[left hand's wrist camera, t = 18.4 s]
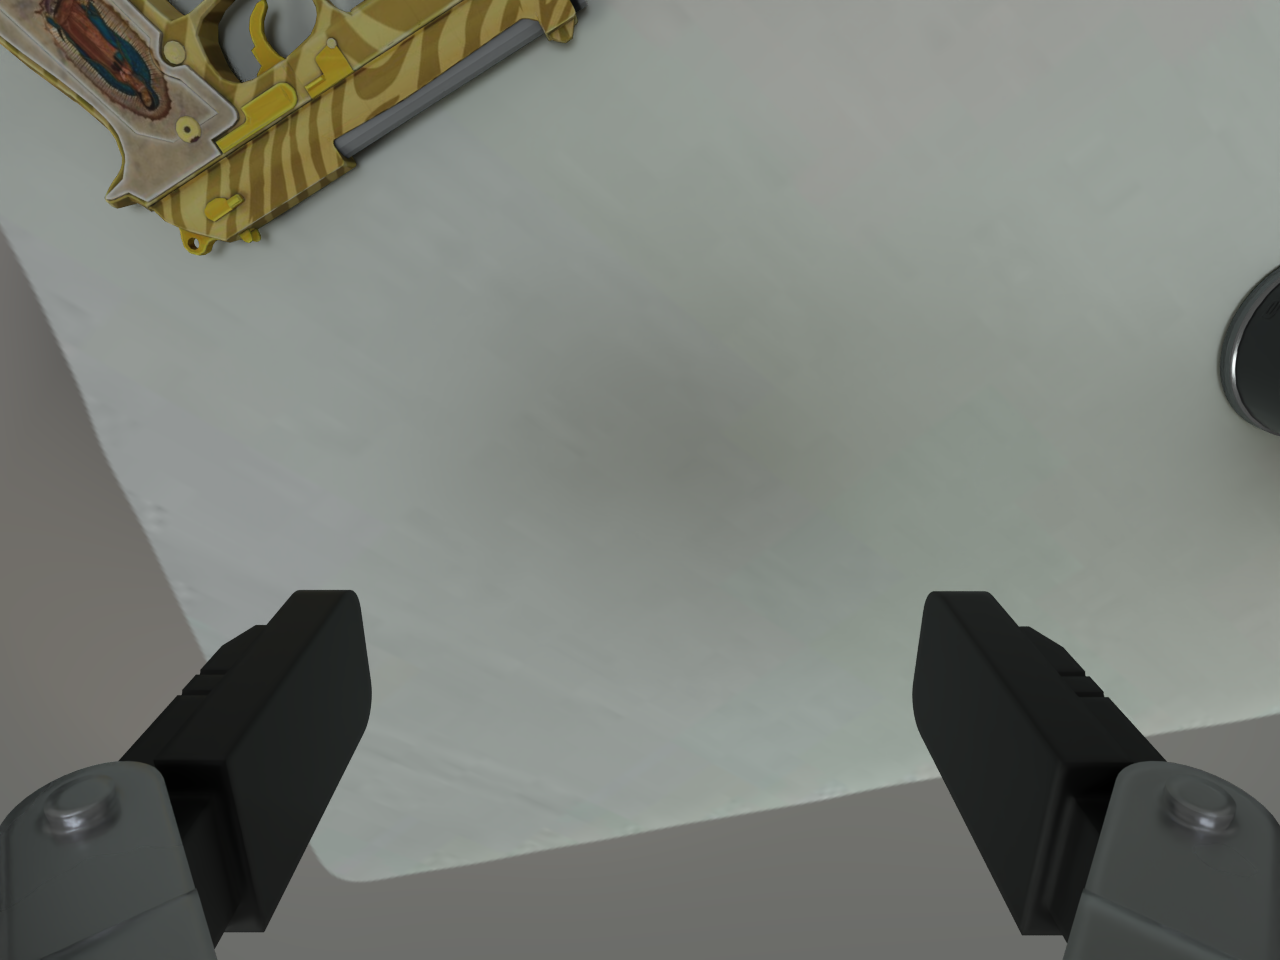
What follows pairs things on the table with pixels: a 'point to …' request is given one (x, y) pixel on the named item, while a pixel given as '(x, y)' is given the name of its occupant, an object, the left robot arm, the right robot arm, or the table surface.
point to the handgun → (259, 92)
